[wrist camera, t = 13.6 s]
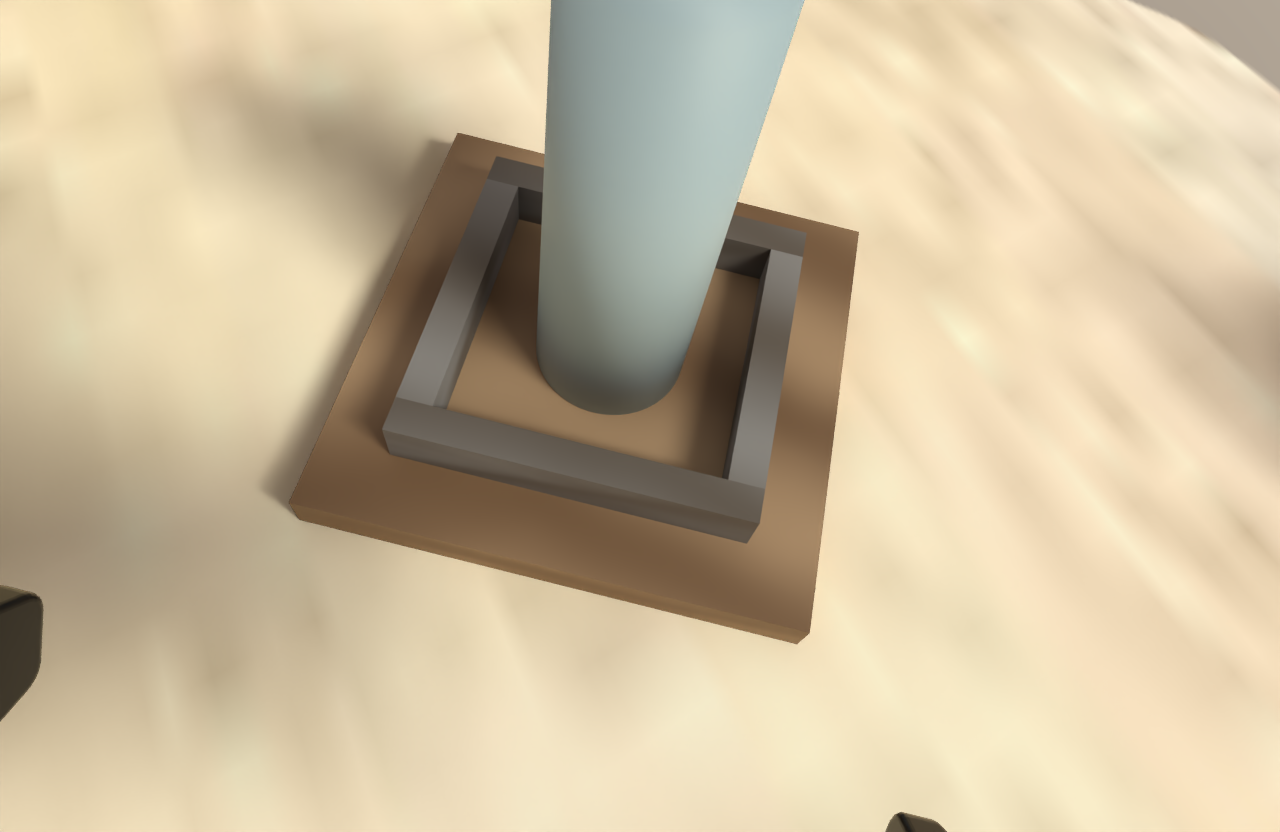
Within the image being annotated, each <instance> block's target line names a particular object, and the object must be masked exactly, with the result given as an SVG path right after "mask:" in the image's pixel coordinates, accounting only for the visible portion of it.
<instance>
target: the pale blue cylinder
mask: <svg viewBox="0 0 1280 832" xmlns="http://www.w3.org/2000/svg"><path fill="white" fill-rule="evenodd" d="M803 3H804V0H551V18H550V41H549V64H548V87H547V110H546V133H545V156H544V179H543V202H542V225H541V248H540V271H539V294H538V317H537V340H536V354H537V360H538V364H539V367H540V370H541V372H542V374H543V376H544V378H545V379H546V381H547V382H548V384H549V385H550V386H551V387H552V388H553V390H554V391H555V392H556V393H557V394H559V395H560V396H561V397H562V398H563V399H565V400H566V401H568V402H569V403H571V404H573V405H575V406H577V407H579V408H581V409H584V410H587V411H589V412H594V413H598V414H605V415H623V414H630V413H634V412H638V411H641V410H644V409H646V408H648V407H650V406H652V405H654V404H656V403H657V402H658V401H660V400H661V399H662V398H663V397H665V396H666V395H667V394H668V393H669V391H670V390H671V389H672V387H673V386H674V385H675V383H676V381H677V379H678V377H679V374H680V371H681V368H682V366H683V363H684V360H685V357H686V354H687V351H688V348H689V345H690V342H691V339H692V336H693V333H694V330H695V327H696V324H697V321H698V318H699V315H700V312H701V309H702V306H703V303H704V300H705V297H706V294H707V291H708V288H709V285H710V282H711V279H712V276H713V273H714V270H715V267H716V264H717V261H718V258H719V255H720V252H721V249H722V246H723V243H724V240H725V237H726V234H727V231H728V228H729V225H730V222H731V219H732V216H733V213H734V210H735V207H736V204H737V201H738V198H739V195H740V192H741V189H742V186H743V183H744V180H745V177H746V174H747V171H748V168H749V165H750V162H751V159H752V156H753V153H754V150H755V147H756V144H757V141H758V138H759V135H760V132H761V129H762V126H763V123H764V120H765V117H766V114H767V111H768V108H769V105H770V102H771V99H772V96H773V93H774V90H775V87H776V84H777V81H778V78H779V75H780V72H781V69H782V66H783V63H784V60H785V57H786V54H787V51H788V48H789V45H790V42H791V39H792V36H793V33H794V30H795V27H796V24H797V21H798V18H799V15H800V12H801V9H802V6H803Z"/></svg>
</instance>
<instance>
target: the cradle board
mask: <svg viewBox="0 0 1280 832" xmlns="http://www.w3.org/2000/svg"><path fill="white" fill-rule="evenodd" d="M544 156H545V154H542V153H538V152H534V151H530V150H526V149H522V148H518V147H514V146H510V145H506V144H501V143H497V142H493V141H489V140H485V139H481V138H477V137H473V136H469V135H465V134H461V133H458V134H457V136H456V138H455V140H454V142H453V145H452V147H451V149H450V151H449V153H448V155H447V158H446V160H445V162H444V164H443V166H442V169H441V171H440V173H439V175H438V177H437V180H436V182H435V184H434V186H433V188H432V190H431V193H430V195H429V197H428V199H427V201H426V204H425V206H424V208H423V210H422V212H421V215H420V217H419V219H418V221H417V223H416V225H415V228H414V230H413V232H412V234H411V236H410V239H409V241H408V243H407V245H406V247H405V250H404V252H403V254H402V256H401V258H400V260H399V263H398V265H397V267H396V269H395V271H394V274H393V276H392V278H391V280H390V282H389V285H388V287H387V289H386V291H385V293H384V296H383V298H382V300H381V302H380V304H379V306H378V309H377V311H376V313H375V315H374V317H373V320H372V322H371V324H370V326H369V328H368V331H367V333H366V335H365V337H364V339H363V341H362V344H361V346H360V348H359V350H358V352H357V355H356V357H355V359H354V361H353V363H352V366H351V368H350V370H349V372H348V374H347V376H346V379H345V381H344V383H343V385H342V387H341V390H340V392H339V394H338V396H337V398H336V401H335V403H334V405H333V407H332V409H331V411H330V414H329V416H328V418H327V420H326V422H325V425H324V427H323V429H322V431H321V433H320V436H319V438H318V440H317V442H316V444H315V447H314V449H313V451H312V453H311V455H310V457H309V460H308V462H307V464H306V466H305V468H304V471H303V473H302V475H301V477H300V479H299V482H298V484H297V486H296V488H295V490H294V492H293V495H292V497H291V499H290V501H289V504H290V505H291V507H292V509H293V510H294V512H295V513H296V515H297V517H298V518H299V520H303V521H307V522H311V523H315V524H319V525H323V526H327V527H331V528H335V529H339V530H343V531H347V532H351V533H355V534H359V535H363V536H367V537H371V538H375V539H379V540H383V541H387V542H391V543H395V544H399V545H403V546H407V547H411V548H415V549H419V550H423V551H427V552H431V553H435V554H439V555H443V556H447V557H451V558H455V559H459V560H463V561H467V562H471V563H475V564H479V565H483V566H487V567H491V568H495V569H499V570H503V571H507V572H511V573H515V574H519V575H523V576H527V577H531V578H535V579H539V580H543V581H547V582H551V583H555V584H559V585H563V586H567V587H571V588H575V589H579V590H583V591H587V592H591V593H595V594H599V595H603V596H607V597H611V598H615V599H619V600H623V601H627V602H631V603H635V604H639V605H643V606H647V607H651V608H655V609H659V610H663V611H667V612H671V613H675V614H679V615H683V616H687V617H691V618H695V619H699V620H703V621H707V622H711V623H715V624H719V625H723V626H727V627H731V628H735V629H739V630H743V631H747V632H751V633H755V634H759V635H763V636H767V637H771V638H775V639H779V640H783V641H787V642H791V643H795V644H798V643H799V642H800V641H801V640H802V639H803V638H805V637H806V636H807V635H808V634H809V633H810V626H811V618H812V609H813V601H814V593H815V585H816V577H817V569H818V560H819V552H820V544H821V536H822V528H823V520H824V512H825V503H826V495H827V487H828V479H829V471H830V463H831V455H832V446H833V438H834V430H835V422H836V414H837V406H838V398H839V389H840V381H841V373H842V365H843V357H844V349H845V341H846V332H847V324H848V316H849V308H850V300H851V292H852V284H853V275H854V267H855V259H856V251H857V243H858V235H859V232H857V231H853V230H849V229H845V228H841V227H837V226H833V225H829V224H825V223H820V222H816V221H812V220H808V219H804V218H800V217H796V216H792V215H788V214H784V213H780V212H776V211H772V210H768V209H764V208H760V207H756V206H752V205H748V204H744V203H740V202H737V204H736V207H735V210H734V213H733V216H732V219H731V222H730V225H729V228H728V231H727V234H726V237H725V240H724V243H723V246H722V249H721V252H720V255H719V258H718V261H717V264H716V267H715V270H714V273H713V276H712V279H711V282H710V285H709V288H708V291H707V294H706V297H705V300H704V303H703V306H702V309H701V312H700V315H699V318H698V321H697V324H696V327H695V330H694V333H693V336H692V339H691V342H690V345H689V348H688V351H687V354H686V357H685V360H684V363H683V366H682V368H681V371H680V374H679V377H678V379H677V381H676V383H675V385H674V386H673V387H672V389H671V390H670V391H669V393H668V394H667V395H666V396H665V397H663V398H662V399H661V400H660V401H658V402H657V403H656V404H654V405H652V406H650V407H648V408H646V409H644V410H641V411H638V412H634V413H630V414H623V415H605V414H598V413H594V412H589V411H587V410H584V409H581V408H579V407H577V406H575V405H573V404H571V403H569V402H568V401H566V400H565V399H563V398H562V397H561V396H560V395H559V394H557V393H556V392H555V391H554V390H553V388H552V387H551V386H550V385H549V384H548V382H547V381H546V379H545V378H544V376H543V374H542V372H541V370H540V367H539V364H538V360H537V354H536V340H537V317H538V294H539V271H540V248H541V225H542V202H543V179H544Z"/></svg>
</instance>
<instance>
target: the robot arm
mask: <svg viewBox="0 0 1280 832" xmlns="http://www.w3.org/2000/svg"><path fill="white" fill-rule="evenodd" d="M42 628H43V603H42V601H41V599H40V597H39V596H37V595H36V594H35V593H32V592H28V591H24V590H20V589H16V588H12V587H8V586H4V585H0V721H1V720H2V719H3V718H4V717H5V716H6V714H7V713H8V712H9V711H10V710H11V709H12V708H13V706H14V705H15V704H16V703H17V702H18V701H19V700H20V698H21V697H22V696H23V695H24V694H25V693H26V692H27V690H28V689H29V688H30V686H31V685H32V683H33V682H34V680H35V678H36V676H37V674H38V671H39V668H40V663H41V649H42ZM886 832H947V831H946V830H945V829H944V828H943V827H942V826H941V825H940V824H939V823H938V822H936V821H934V820H932V819H928V818H924V817H920V816H916V815H912V814H908V813H904V812H900V813H897V814H895V815H894V816H893V817H892V819H891V820H890V822H889V824H888V827H887V829H886Z"/></svg>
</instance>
